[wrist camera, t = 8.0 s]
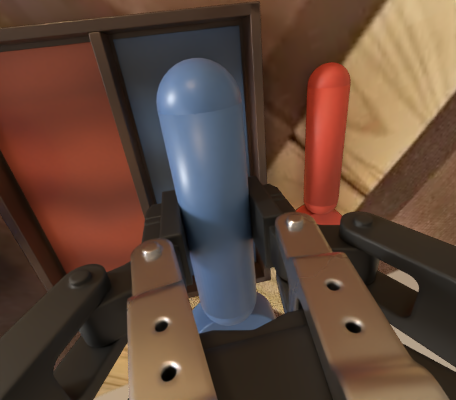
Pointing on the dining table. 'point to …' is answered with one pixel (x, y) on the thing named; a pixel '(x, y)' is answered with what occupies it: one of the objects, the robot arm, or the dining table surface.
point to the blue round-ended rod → (212, 191)
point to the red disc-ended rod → (325, 141)
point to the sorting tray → (108, 127)
